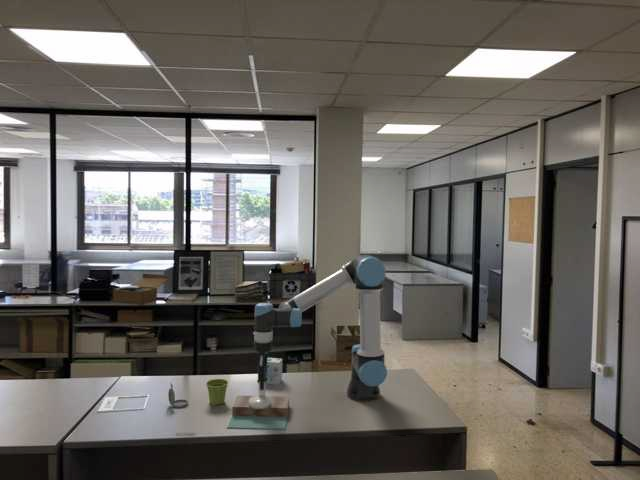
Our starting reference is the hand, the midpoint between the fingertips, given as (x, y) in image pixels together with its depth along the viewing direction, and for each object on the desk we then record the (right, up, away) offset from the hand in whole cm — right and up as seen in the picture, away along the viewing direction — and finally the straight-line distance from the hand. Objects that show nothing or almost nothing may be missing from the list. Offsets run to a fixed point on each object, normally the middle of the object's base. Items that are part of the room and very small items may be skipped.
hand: (262, 396), depth 201 cm
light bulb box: (0, -4, +33) cm, 33 cm away
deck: (0, -5, -2) cm, 6 cm away
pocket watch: (-36, -5, +2) cm, 36 cm away
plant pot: (-20, -5, +6) cm, 21 cm away
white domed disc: (0, -2, -5) cm, 5 cm away
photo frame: (-58, -4, +2) cm, 58 cm away
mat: (0, -6, -13) cm, 14 cm away
